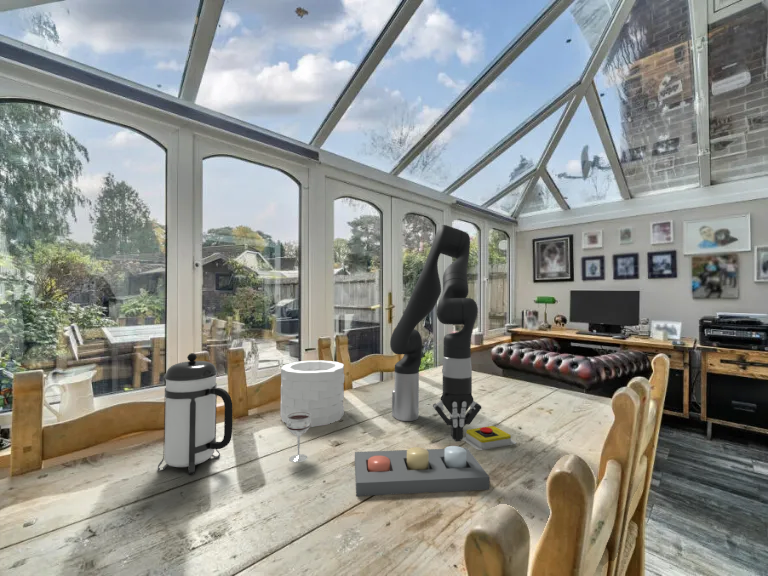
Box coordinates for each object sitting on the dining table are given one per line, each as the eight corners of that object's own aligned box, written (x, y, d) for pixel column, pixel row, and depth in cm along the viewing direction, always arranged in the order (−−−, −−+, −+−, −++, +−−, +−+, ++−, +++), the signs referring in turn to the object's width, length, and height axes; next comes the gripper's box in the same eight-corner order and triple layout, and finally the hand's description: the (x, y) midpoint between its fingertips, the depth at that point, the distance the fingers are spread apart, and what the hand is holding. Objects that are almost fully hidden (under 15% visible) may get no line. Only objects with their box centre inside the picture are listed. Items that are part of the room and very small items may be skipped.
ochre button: (408, 473, 88) (408, 457, 88) (405, 462, 94) (405, 447, 94) (430, 472, 89) (430, 456, 89) (425, 461, 94) (425, 446, 94)
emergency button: (460, 426, 115) (498, 421, 120) (460, 440, 115) (498, 433, 120) (478, 437, 106) (518, 431, 111) (478, 452, 106) (517, 445, 111)
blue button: (447, 471, 89) (448, 455, 89) (441, 461, 95) (442, 446, 95) (469, 470, 90) (469, 455, 90) (462, 460, 95) (462, 445, 95)
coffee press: (153, 485, 85) (156, 360, 86) (160, 457, 99) (162, 350, 100) (231, 469, 93) (233, 355, 94) (227, 445, 107) (229, 347, 108)
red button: (368, 482, 87) (368, 466, 87) (367, 471, 93) (367, 455, 93) (390, 481, 88) (391, 465, 88) (388, 470, 93) (388, 455, 93)
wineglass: (315, 455, 102) (315, 413, 102) (302, 465, 96) (302, 421, 96) (294, 451, 104) (295, 410, 104) (281, 461, 98) (281, 418, 98)
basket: (276, 409, 141) (277, 362, 141) (334, 402, 151) (335, 358, 151) (285, 432, 118) (285, 375, 118) (352, 422, 128) (353, 370, 128)
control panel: (356, 496, 82) (356, 483, 82) (354, 462, 97) (354, 451, 98) (489, 489, 85) (489, 477, 85) (466, 458, 101) (467, 447, 101)
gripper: (436, 377, 88) (436, 447, 88) (486, 376, 90) (487, 445, 89) (428, 371, 96) (428, 435, 95) (475, 370, 97) (476, 433, 97)
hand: (457, 440), depth 92 cm, fingers closed
